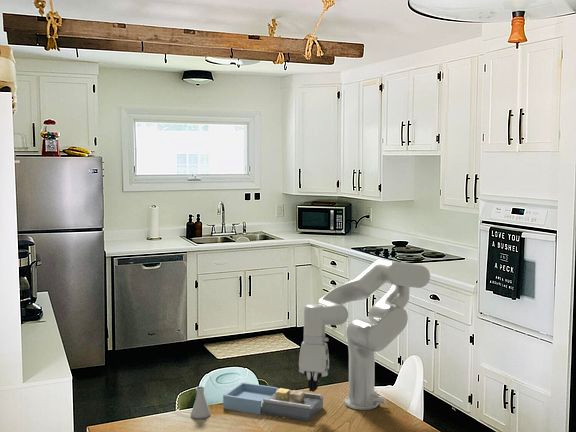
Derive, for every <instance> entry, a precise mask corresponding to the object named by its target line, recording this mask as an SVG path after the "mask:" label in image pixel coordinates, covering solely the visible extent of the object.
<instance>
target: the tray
mask: <svg viewBox="0 0 576 432" xmlns="http://www.w3.org/2000/svg"><path fill="white" fill-rule="evenodd" d="M277 388H278V387H276V386H269V385H262V384H256V383H249V382H248V383H247V382H240V383H239V384H238V385H236V386H234V387H233V388H232V389H230V390H229V391H227V392H226V393H225V394H223V396H222V398H223V399H222V401H223V405H222V406H223V409H224V410H230V411H237V412H242V413H248V412H250V414H254V413H255V415H261V413H262V403H263V399H264V398H267V399H268V398H269V397H271V396H272V395H273V394H274V393H275V392H276V389H277Z"/></svg>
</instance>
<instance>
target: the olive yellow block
mask: <svg viewBox="0 0 576 432" xmlns="http://www.w3.org/2000/svg"><path fill="white" fill-rule="evenodd" d="M290 390H291V389H288V388H284V387H283V388H282V387H280V388H279V389H278V390H277V391H276V392H275V400H280V401H287V400H288V399H289V394H290Z"/></svg>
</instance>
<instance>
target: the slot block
mask: <svg viewBox="0 0 576 432" xmlns="http://www.w3.org/2000/svg"><path fill="white" fill-rule="evenodd" d="M278 389H279V388H278V387H277V389H276V391H277V390H278ZM292 391H293V390H291V389H290V393H291V392H292ZM303 392H304V400H303V401H302V402H301V403H293V402H289V399H288V400H287V401H280V400H275V393H274V394H273V395H272V396H271V397H269V398H268V399H267V398H264V399H263V403H262V415H263V414H265V416H269V415H271V416H270V417H275V416H278V417H277V418H281V417H285V418H284V419H287V418H289V420H293V419H294V421H299V422H307V423H309V422H311V421H312V419H314V417H316V416H317V415H318V413H319V412H320V411H321V410H323V408H324V397H323V394H319V393H314V392H305V391H303Z"/></svg>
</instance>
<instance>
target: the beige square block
mask: <svg viewBox="0 0 576 432" xmlns="http://www.w3.org/2000/svg"><path fill="white" fill-rule="evenodd" d="M304 392H305V391H302V390H296V389H293V390H292V392H291V393H290V394H289V402H293V403H301V402H302V401H303V400H304Z"/></svg>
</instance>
